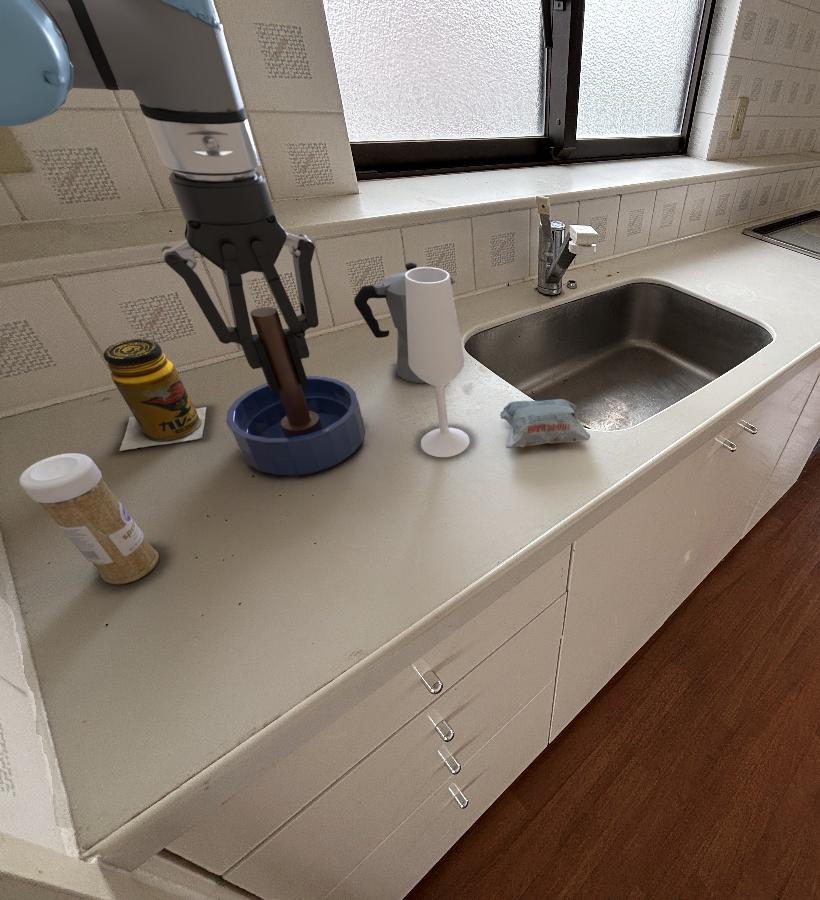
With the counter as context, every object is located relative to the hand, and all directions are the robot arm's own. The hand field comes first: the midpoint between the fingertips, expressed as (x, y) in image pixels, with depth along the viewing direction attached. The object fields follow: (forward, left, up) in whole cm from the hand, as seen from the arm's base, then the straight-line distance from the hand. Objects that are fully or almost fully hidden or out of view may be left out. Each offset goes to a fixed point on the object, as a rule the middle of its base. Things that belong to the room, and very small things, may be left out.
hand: (288, 384), depth 61 cm
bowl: (0, 0, -9) cm, 9 cm away
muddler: (0, 0, -9) cm, 9 cm away
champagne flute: (+18, 0, -10) cm, 20 cm away
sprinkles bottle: (-11, -20, -10) cm, 25 cm away
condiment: (-18, +3, -10) cm, 21 cm away
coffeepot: (+12, +19, -10) cm, 24 cm away
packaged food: (+32, +1, -10) cm, 33 cm away
